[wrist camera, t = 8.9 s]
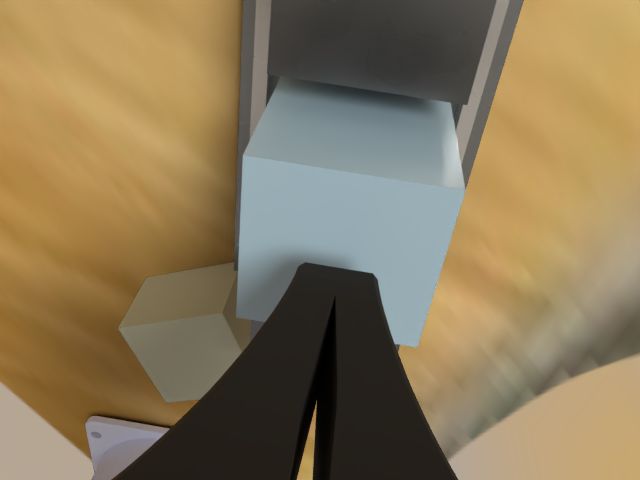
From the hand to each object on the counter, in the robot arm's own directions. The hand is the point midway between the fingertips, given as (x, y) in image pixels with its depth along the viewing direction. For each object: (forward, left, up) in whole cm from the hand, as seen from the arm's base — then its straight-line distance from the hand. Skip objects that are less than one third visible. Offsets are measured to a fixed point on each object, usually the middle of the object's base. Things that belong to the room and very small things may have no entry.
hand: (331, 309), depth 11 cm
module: (0, 0, -7) cm, 7 cm away
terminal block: (-9, +5, -9) cm, 13 cm away
